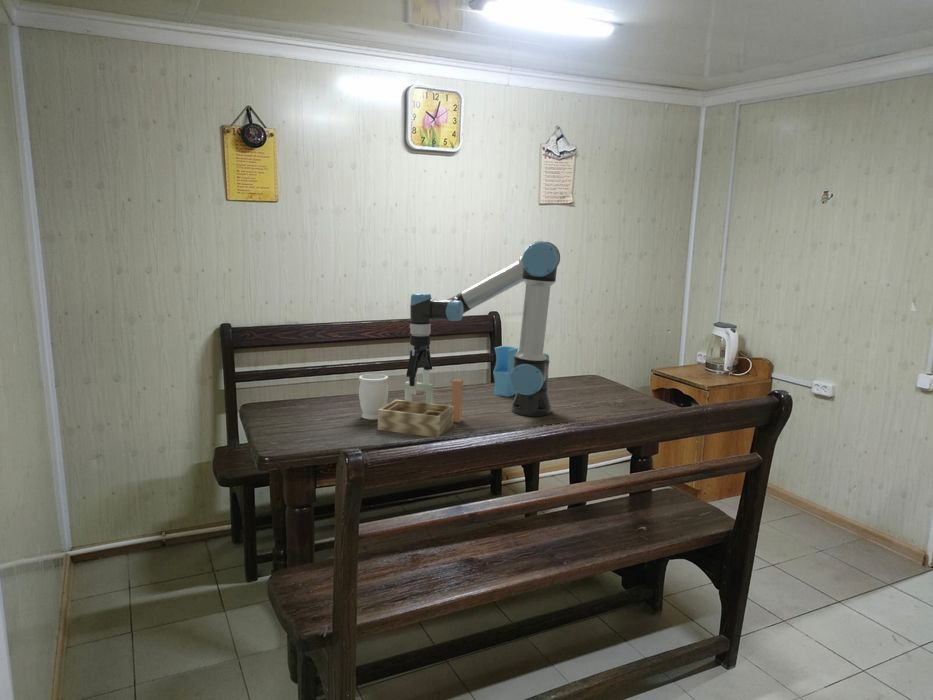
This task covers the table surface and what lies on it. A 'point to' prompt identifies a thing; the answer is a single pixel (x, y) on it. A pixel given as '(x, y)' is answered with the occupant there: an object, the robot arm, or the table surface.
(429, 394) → the lid
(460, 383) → the key peg
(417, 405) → the wooden box
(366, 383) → the jar
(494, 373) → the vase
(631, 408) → the table surface
